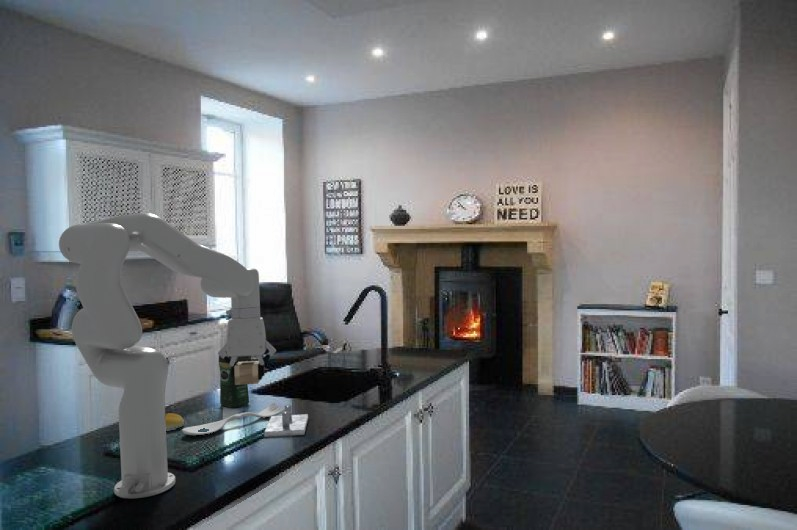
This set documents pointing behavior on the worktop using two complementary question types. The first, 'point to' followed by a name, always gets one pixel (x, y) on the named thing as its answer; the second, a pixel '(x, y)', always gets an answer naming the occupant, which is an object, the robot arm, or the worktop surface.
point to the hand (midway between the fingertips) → (248, 378)
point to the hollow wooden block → (246, 373)
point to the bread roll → (173, 420)
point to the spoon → (215, 426)
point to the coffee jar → (232, 386)
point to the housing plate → (290, 430)
